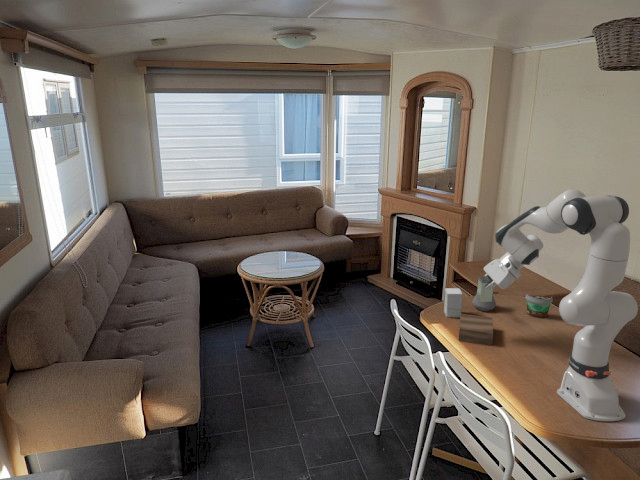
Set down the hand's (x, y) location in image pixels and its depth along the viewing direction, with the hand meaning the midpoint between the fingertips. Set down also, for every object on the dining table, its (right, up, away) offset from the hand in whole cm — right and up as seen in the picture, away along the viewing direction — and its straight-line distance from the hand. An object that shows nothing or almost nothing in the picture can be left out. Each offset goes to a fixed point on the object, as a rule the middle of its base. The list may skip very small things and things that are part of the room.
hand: (483, 286), depth 205 cm
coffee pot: (+12, -16, +29) cm, 35 cm away
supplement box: (-6, -17, +27) cm, 32 cm away
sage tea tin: (+1, -6, +2) cm, 6 cm away
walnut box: (-1, -23, +7) cm, 24 cm away
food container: (+35, -17, +23) cm, 45 cm away
